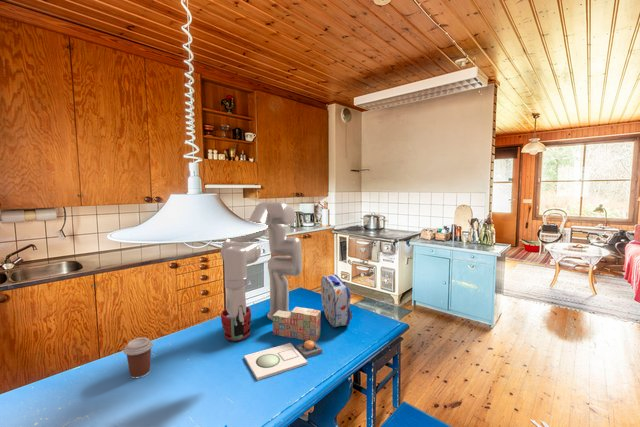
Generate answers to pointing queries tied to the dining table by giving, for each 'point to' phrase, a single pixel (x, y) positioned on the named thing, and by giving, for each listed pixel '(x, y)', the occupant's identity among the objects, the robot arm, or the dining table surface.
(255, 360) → the activity sheet
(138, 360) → the coffee cup
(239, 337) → the marker
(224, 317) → the plant pot
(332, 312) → the lunch box
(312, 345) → the button
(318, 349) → the button housing
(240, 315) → the robot arm
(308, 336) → the stack of blocks
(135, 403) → the dining table surface
